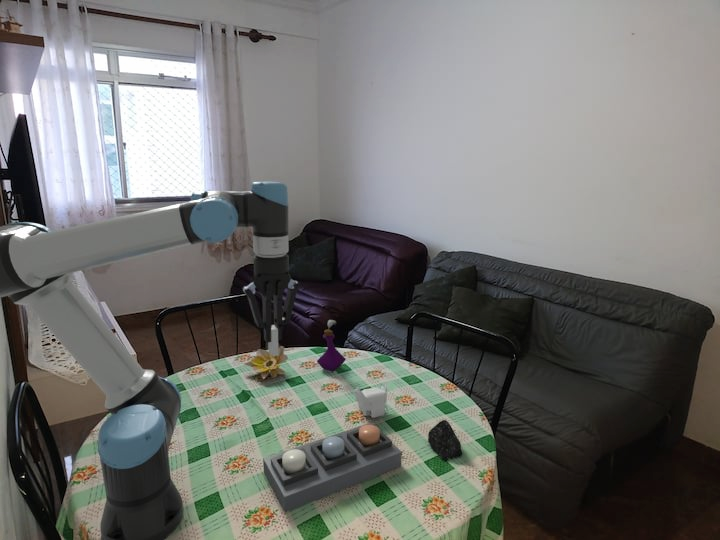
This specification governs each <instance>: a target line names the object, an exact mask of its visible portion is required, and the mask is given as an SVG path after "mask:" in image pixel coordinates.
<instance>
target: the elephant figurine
mask: <svg viewBox="0 0 720 540" xmlns="http://www.w3.org/2000/svg"><path fill="white" fill-rule="evenodd" d="M387 391H388V386H387V382H385V381H382V384H381V387H371V388H366V389H365V388H363V390H361V389H360V387H359V386H356V388H355V389H354V390H353V393H354V395H355V400H356V402H357V403H358V404H357V405H358V409H359V411H360V412H361V413H362V414H363V416H364V417H368V416H371V418H374V419H375V418H377V417H382V416H385V414H386V412H387V415H388V416H389V415H390V414H389V407H388V405H387V404H386V403H387V399H388V392H387Z"/></svg>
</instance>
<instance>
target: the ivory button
mask: <svg viewBox="0 0 720 540" xmlns="http://www.w3.org/2000/svg"><path fill="white" fill-rule="evenodd" d="M292 449H293V448H292ZM288 450H289V451H287V450H286V451H287V452H285V453H284V454H283V456H282V464H283V470H284V471H285V472H286V473H288V474H294V473H297V472H300V471H302V470H304V469H305V467H306V456H305V453H304V452H303V451H301V450H297V449H293V450H290V449H288Z"/></svg>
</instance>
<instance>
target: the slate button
mask: <svg viewBox="0 0 720 540" xmlns="http://www.w3.org/2000/svg"><path fill="white" fill-rule="evenodd" d="M327 437H328V438H326V437H325V438H326V439H325V440H324V441H323V443H322V451H323V456H324V457H325V458H327V459H331V460H333V459H336V458H339V457H341V456H343V455H344V441H343V439H341V438H339V437H329V436H327Z"/></svg>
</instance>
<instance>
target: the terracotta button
mask: <svg viewBox="0 0 720 540" xmlns="http://www.w3.org/2000/svg"><path fill="white" fill-rule="evenodd" d="M363 425H364V426H362V425H361V426H362V427H361V428H360V429H359V442H360V443H361V444H362V445H364V446H372V445H375V444H377V443H379V441H380V430H381V429H380V428H379V427H378V426H377V425H376V426H377V427H376V426H374V425H365V424H363ZM379 429H380V430H379Z"/></svg>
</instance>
